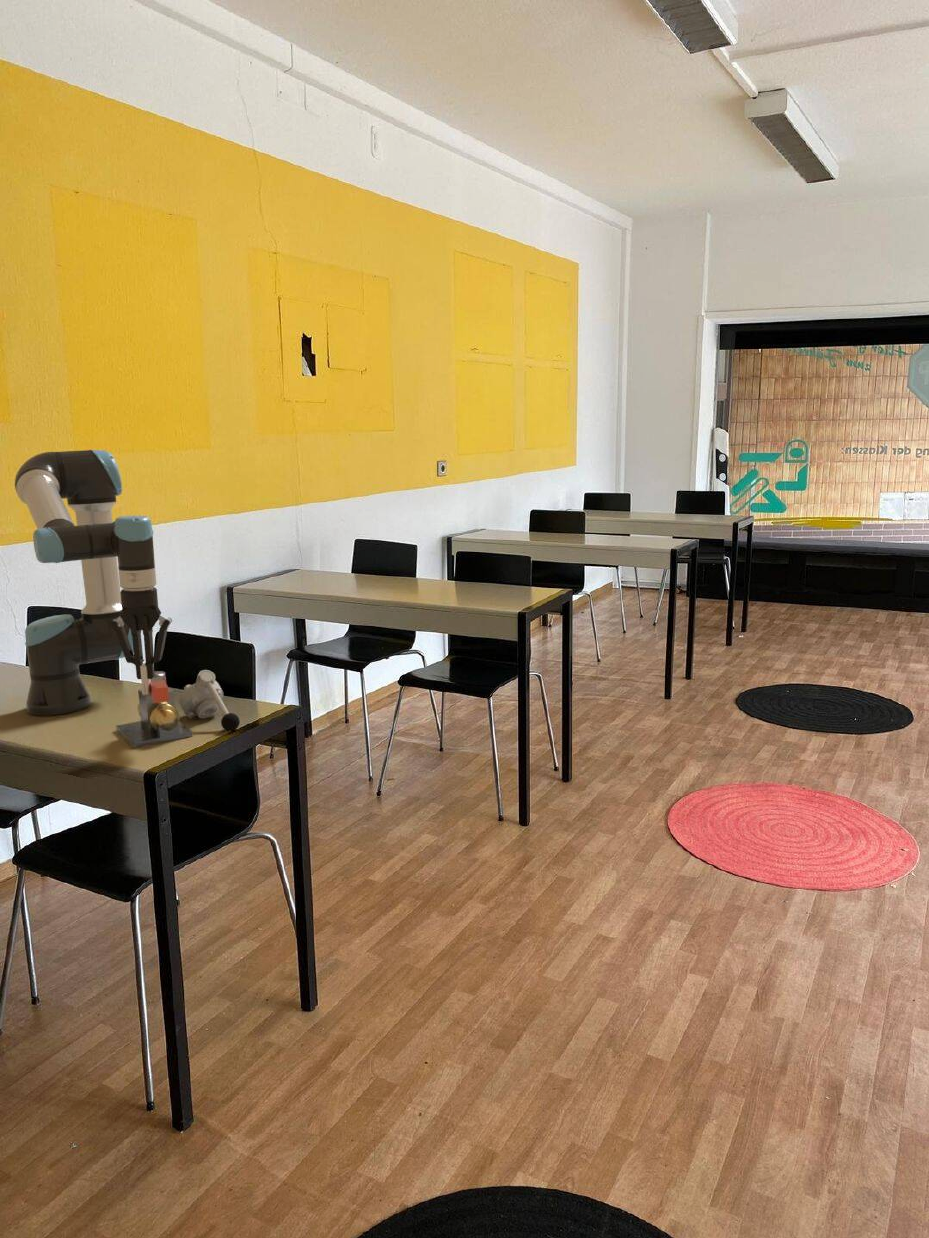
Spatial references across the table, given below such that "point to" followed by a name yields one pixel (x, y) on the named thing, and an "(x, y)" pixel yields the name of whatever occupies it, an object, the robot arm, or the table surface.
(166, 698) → the lever
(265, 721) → the table surface
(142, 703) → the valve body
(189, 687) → the mechanical valve
